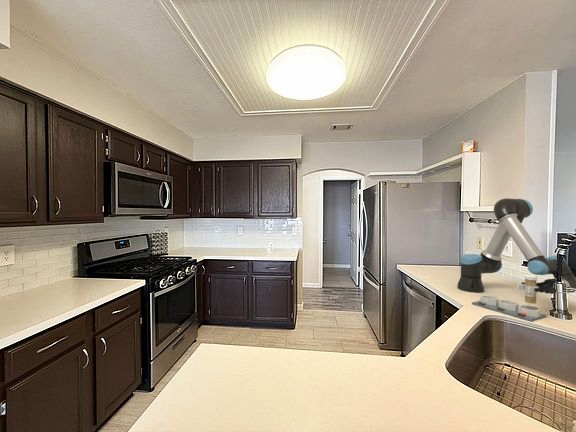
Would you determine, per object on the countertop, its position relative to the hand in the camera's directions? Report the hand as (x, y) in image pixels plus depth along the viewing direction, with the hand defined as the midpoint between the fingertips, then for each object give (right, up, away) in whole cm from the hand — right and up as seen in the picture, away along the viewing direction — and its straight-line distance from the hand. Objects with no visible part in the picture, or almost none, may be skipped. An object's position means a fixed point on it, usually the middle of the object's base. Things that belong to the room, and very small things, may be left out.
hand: (523, 288), depth 136 cm
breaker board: (-1, -14, +9) cm, 17 cm away
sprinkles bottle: (+5, -8, +2) cm, 9 cm away
